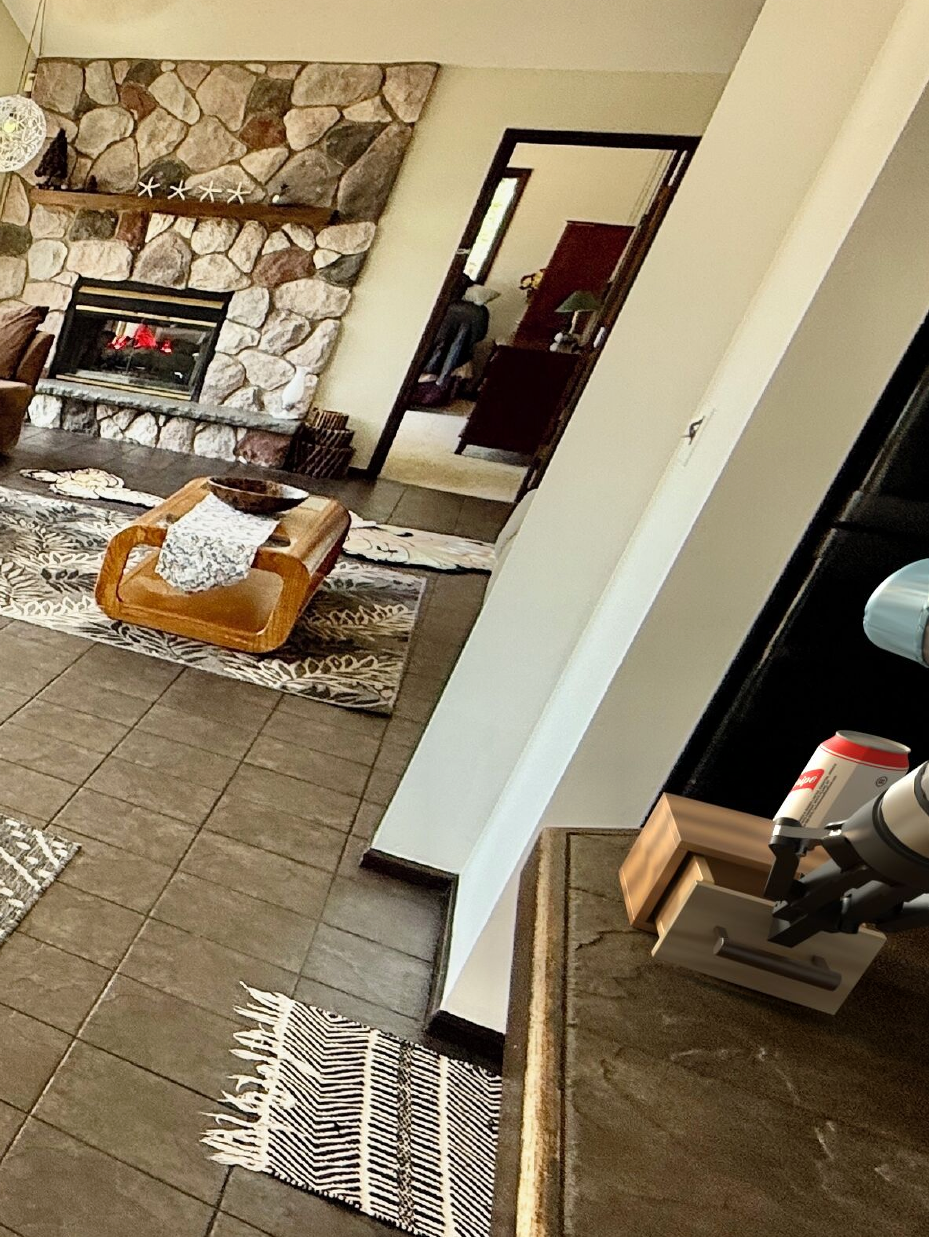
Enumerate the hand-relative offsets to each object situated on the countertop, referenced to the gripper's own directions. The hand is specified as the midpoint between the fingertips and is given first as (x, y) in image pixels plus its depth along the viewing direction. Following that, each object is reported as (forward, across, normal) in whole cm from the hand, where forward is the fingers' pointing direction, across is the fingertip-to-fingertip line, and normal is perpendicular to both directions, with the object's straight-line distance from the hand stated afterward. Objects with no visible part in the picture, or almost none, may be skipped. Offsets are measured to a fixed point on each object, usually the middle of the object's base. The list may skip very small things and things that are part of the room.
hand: (783, 930), depth 99 cm
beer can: (+33, +8, +23) cm, 41 cm away
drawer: (+8, 0, -1) cm, 8 cm away
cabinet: (+17, 0, +7) cm, 19 cm away
